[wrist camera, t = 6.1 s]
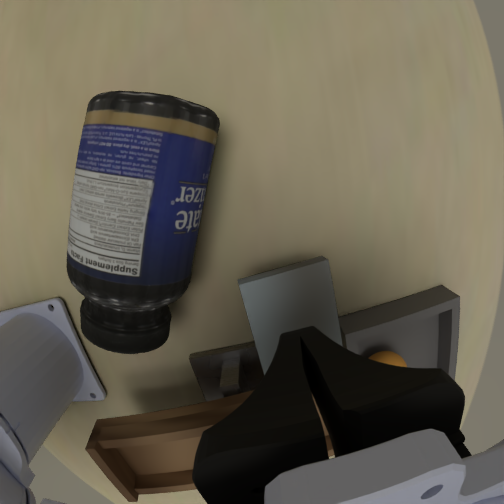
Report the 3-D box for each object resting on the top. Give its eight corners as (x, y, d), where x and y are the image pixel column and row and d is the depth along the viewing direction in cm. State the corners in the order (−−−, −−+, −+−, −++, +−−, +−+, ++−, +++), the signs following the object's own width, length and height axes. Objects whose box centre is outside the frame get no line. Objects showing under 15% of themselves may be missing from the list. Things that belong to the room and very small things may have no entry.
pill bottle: (227, 123, 16) (192, 318, 18) (122, 110, 16) (99, 294, 18) (210, 95, 10) (166, 378, 12) (63, 86, 10) (45, 339, 12)
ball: (408, 377, 18) (365, 378, 19) (408, 339, 17) (362, 342, 19) (405, 408, 15) (357, 409, 17) (406, 369, 15) (353, 371, 16)
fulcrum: (223, 431, 20) (219, 464, 17) (190, 353, 19) (180, 385, 16) (292, 419, 20) (297, 452, 17) (270, 338, 19) (274, 368, 15)
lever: (134, 473, 16) (128, 501, 13) (48, 328, 13) (26, 350, 11) (347, 424, 17) (363, 451, 14) (322, 255, 14) (344, 269, 12)
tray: (347, 408, 20) (355, 428, 18) (335, 318, 18) (345, 334, 16) (439, 375, 20) (453, 391, 17) (441, 284, 18) (459, 296, 16)
